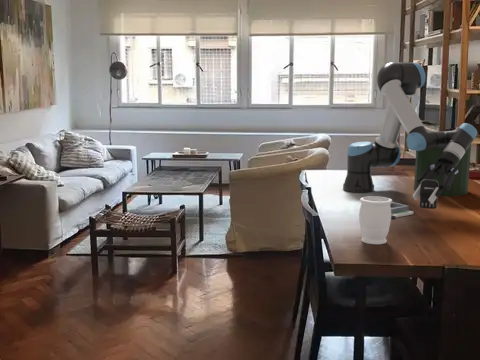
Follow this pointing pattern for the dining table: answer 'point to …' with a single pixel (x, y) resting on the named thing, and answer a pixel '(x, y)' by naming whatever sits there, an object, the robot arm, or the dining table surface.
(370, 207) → the jar
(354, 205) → the dining table surface
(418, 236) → the dining table surface
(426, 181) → the black rounded block
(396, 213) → the panel board
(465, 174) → the flower pot
